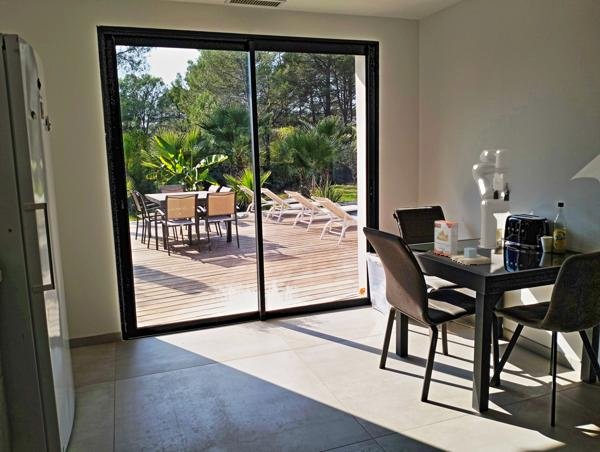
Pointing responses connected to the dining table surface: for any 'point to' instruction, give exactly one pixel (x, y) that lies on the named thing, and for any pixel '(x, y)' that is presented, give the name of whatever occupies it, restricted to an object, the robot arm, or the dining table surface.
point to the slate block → (470, 252)
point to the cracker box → (446, 238)
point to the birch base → (470, 259)
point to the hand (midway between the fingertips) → (501, 200)
